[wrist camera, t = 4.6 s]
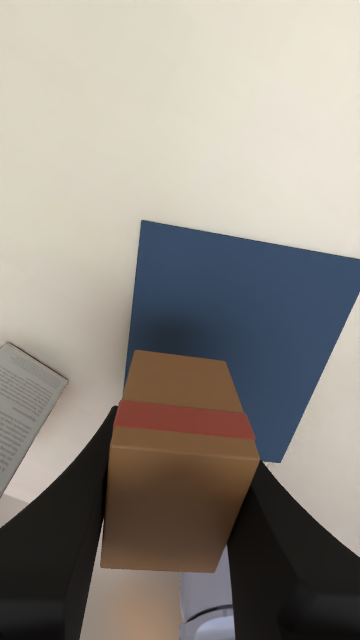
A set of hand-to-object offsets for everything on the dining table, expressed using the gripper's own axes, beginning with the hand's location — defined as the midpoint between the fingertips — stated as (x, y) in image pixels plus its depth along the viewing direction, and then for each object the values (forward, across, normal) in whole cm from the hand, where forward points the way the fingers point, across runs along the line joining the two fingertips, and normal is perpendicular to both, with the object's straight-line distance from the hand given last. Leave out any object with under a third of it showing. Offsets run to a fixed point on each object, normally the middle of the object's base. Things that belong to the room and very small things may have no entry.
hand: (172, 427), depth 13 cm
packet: (+1, 0, 0) cm, 1 cm away
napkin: (+8, -5, +1) cm, 10 cm away
